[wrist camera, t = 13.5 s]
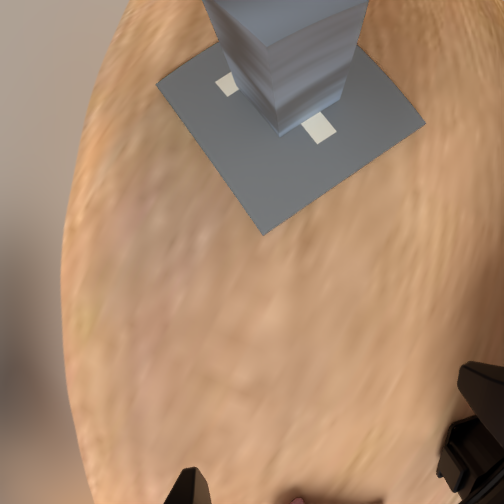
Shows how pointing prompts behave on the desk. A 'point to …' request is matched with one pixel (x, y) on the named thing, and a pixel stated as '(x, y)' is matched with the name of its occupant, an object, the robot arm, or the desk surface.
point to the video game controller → (297, 501)
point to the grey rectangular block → (288, 53)
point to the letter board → (287, 134)
